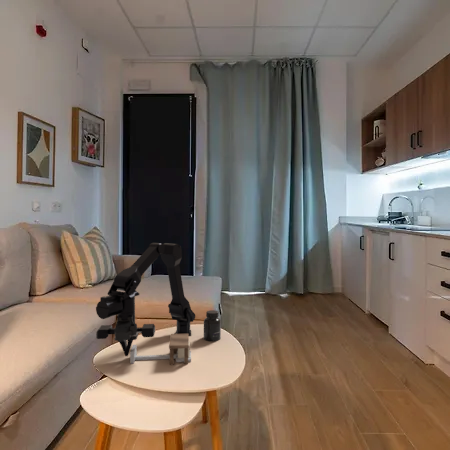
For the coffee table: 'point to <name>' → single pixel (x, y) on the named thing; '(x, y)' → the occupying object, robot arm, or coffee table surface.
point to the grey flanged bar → (152, 356)
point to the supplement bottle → (212, 326)
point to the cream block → (181, 352)
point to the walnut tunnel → (179, 346)
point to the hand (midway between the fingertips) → (126, 355)
